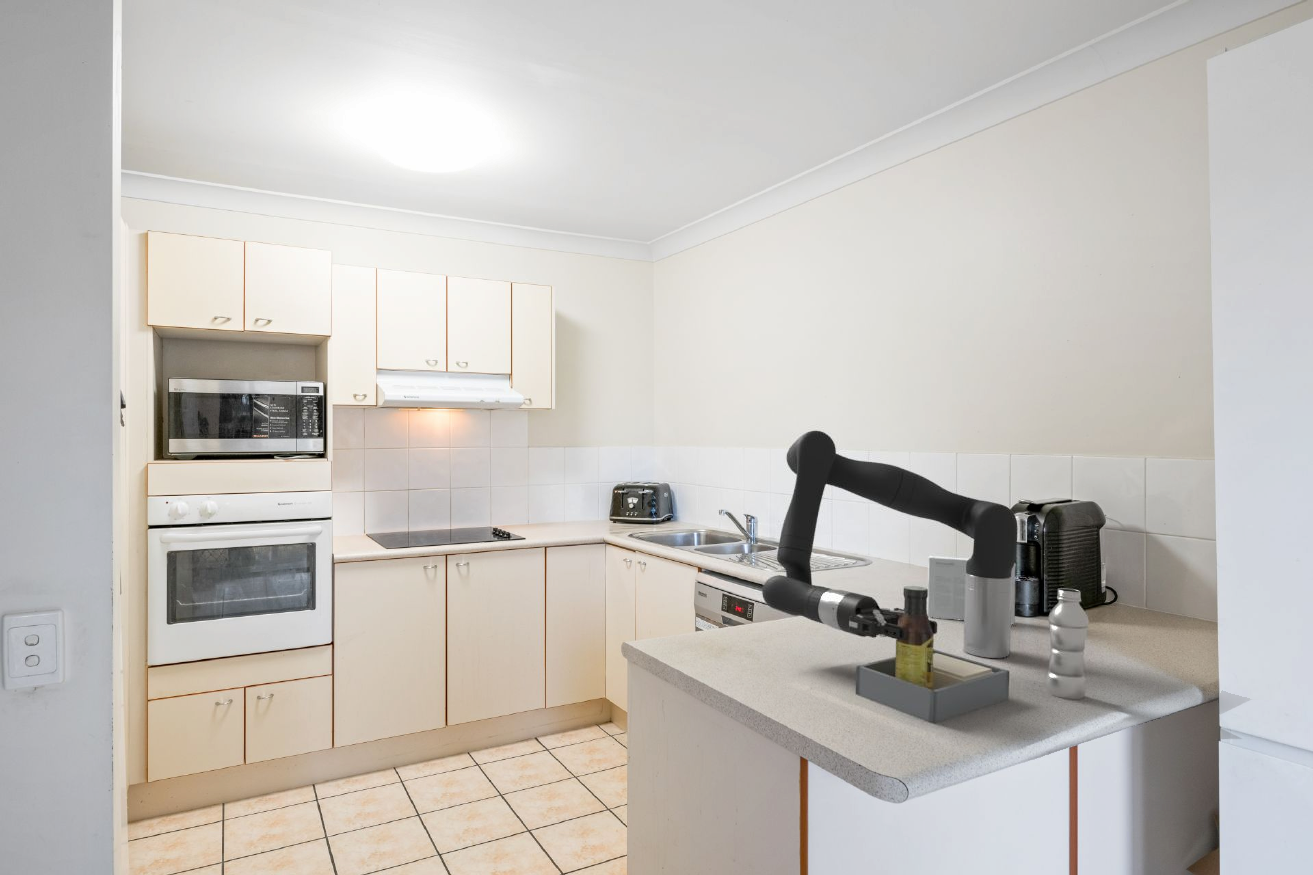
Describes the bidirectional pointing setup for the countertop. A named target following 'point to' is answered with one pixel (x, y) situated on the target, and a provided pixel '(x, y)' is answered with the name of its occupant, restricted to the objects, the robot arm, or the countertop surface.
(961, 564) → the skincare box
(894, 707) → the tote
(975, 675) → the cream rectangular box
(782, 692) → the countertop surface
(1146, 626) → the countertop surface
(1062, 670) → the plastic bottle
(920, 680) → the sauce bottle
